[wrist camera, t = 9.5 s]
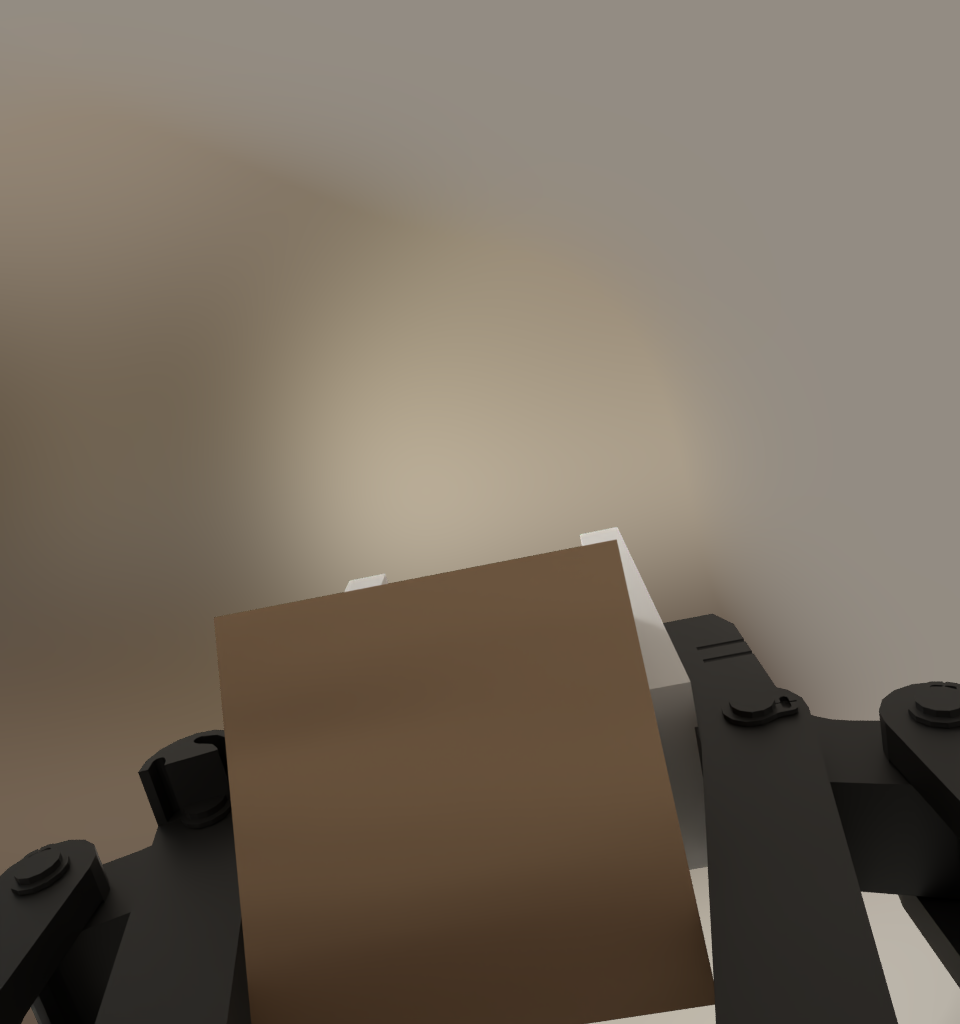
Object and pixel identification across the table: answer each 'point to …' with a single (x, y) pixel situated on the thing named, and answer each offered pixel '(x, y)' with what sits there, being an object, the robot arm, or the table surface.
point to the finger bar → (457, 803)
